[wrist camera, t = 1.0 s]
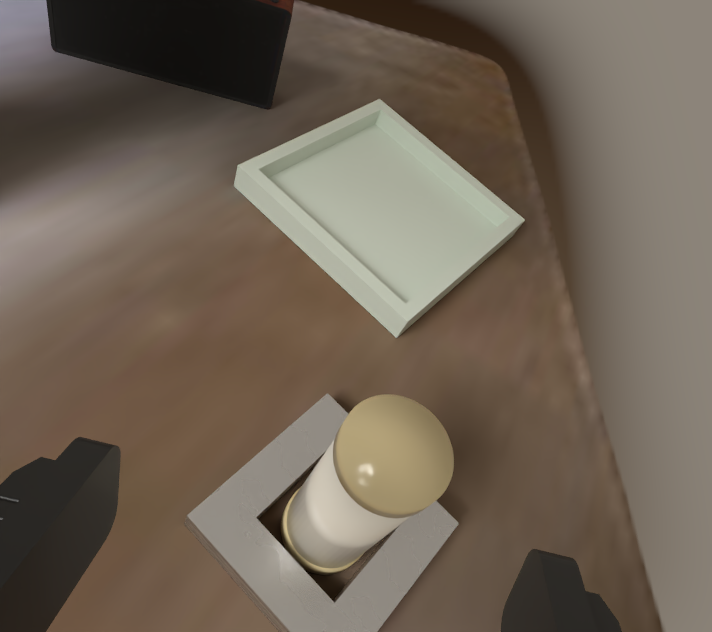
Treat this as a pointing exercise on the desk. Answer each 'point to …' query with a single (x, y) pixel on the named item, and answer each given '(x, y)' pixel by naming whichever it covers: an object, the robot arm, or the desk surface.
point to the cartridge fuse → (367, 483)
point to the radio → (181, 41)
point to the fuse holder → (278, 568)
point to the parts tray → (379, 211)
